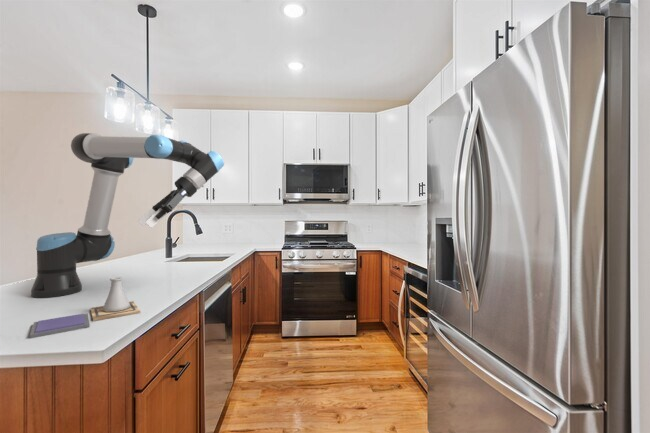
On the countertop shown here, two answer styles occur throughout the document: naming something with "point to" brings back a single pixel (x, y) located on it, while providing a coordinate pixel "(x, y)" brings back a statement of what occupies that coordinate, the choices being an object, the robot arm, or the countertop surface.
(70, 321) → the ink pad
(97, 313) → the marked board
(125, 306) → the flask
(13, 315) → the countertop surface
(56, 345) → the countertop surface
